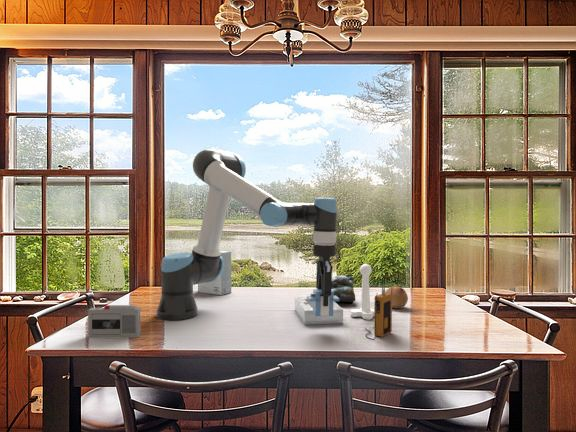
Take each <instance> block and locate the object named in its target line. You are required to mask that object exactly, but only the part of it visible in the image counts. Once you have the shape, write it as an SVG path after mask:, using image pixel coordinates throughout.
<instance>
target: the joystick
mask: <svg viewBox="0 0 576 432" xmlns="http://www.w3.org/2000/svg"><path fill="white" fill-rule="evenodd" d="M359 272H360V274H361V276H362V280H361V281H362V283H361V298H360V308H357V309H356V308H355V309H350V317H354V318H355V317H361V318H362V319H363V320H372V319H373V318H374V308H371V297H370V296H371V295H370V274H372V272H373V271H372V266H371V265H369V264H368V263H364V264H362V265H360V267H359Z"/></svg>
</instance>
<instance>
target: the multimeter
mask: <svg viewBox="0 0 576 432" xmlns="http://www.w3.org/2000/svg"><path fill="white" fill-rule="evenodd" d="M388 275H390V277H391V280H390V281H393V276H392V274H391V272H390V273H389V272H388V273H387V274H386V275H385V274H380V275H379V276H378V277H377V279H376V284H378V282H379V278H380V277H382V286H381V287H382V288H381V293H380V294H375V296H374V308H373V309H374V316H373V318H374V324H373V327H372V329H374V330H373V331H374V333H373V334H374V338H370V337H368V335H369V334H372V332H371V331H370V329H369V328H367V327H365V326H363V327H364V329H365V330H366V331H367V332H368V333H366V334H365V338H367V339H369V340H371V339H372V341H374V340H376V337H381V338H384V337H385V336H386V335H389V334H391V333H392V328H393V327H392V326H393V324H392V323H393V321H392V319H393V308H392V289H391V294H389V293H385V292H386V288H385V287H386V286H385V284H386V282H385V280H386V278H387V276H388Z"/></svg>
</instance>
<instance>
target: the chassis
mask: <svg viewBox="0 0 576 432" xmlns="http://www.w3.org/2000/svg"><path fill="white" fill-rule="evenodd" d="M294 310H295V312H296V313H297V315H298V317H299V318H300V320H301V322H302V323H303V324H304V325H305V326H306V325H307V326H309V325H329V324H330V325H334V324H335V325H336V324H337V325H338V324H344V308H342V307H341V306H340V305H339V304H338V302H334V301H333V316H315V315H314V314H313V301H309V300H308V299H307V296H302V297H301V296H298V297H294Z"/></svg>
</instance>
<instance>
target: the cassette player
mask: <svg viewBox="0 0 576 432" xmlns="http://www.w3.org/2000/svg"><path fill="white" fill-rule="evenodd" d="M141 317H142V316H141V307H137V305H136V304H113V305H111V304H109V305H107V304H106V305H104V306H103V307H91V308H89V309H87V322H88V323H87V324H88V325H87V329H88V330H87V332H88V335H87V338H93V339H94V338H95V339H96V338H99V339H100V338H105V339H107V338H139V337H140V336H141V334H142V333H141V330H142V329H141V328H142V327H141V319H142V318H141Z"/></svg>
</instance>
